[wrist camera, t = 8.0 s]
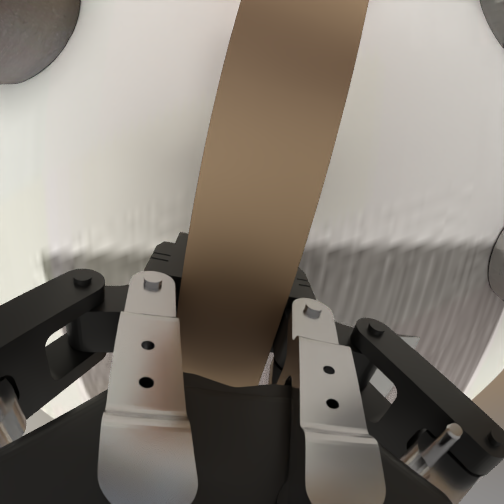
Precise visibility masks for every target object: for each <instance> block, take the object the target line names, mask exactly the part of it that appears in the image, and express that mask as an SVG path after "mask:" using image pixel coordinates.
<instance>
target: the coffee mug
mask: <svg viewBox="0 0 504 504" xmlns="http://www.w3.org/2000/svg"><path fill="white" fill-rule="evenodd" d="M480 2H481V6H482V10H483V12H484V15H485V17H486V20H487V22H488V24H489V26H490V28H491V30H492V32H493V33H494V35H495V37H496V38H497V40H498V41H499V43H500V44H501V45H502V47H503V48H504V0H480Z"/></svg>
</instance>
